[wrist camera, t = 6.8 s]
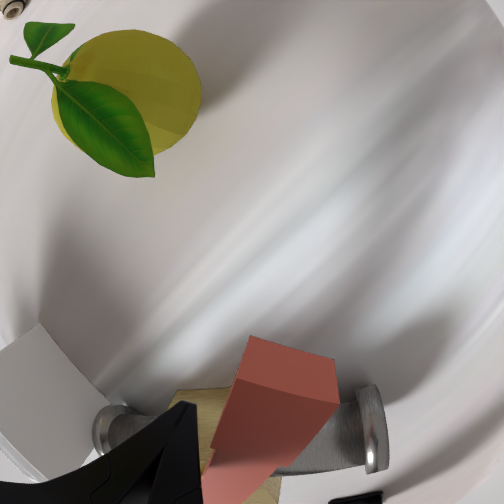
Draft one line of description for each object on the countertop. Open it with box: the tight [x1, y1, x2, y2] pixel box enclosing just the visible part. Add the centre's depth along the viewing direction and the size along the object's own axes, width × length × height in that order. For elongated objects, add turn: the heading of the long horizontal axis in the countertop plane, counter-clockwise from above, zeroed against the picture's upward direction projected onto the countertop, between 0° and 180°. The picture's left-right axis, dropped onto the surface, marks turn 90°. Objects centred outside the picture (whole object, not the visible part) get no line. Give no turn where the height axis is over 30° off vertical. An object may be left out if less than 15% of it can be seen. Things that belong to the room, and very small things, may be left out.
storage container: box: [0, 323, 113, 483], centre depth 18 cm, size 25×11×11 cm, turn 132°
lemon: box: [9, 22, 201, 178], centre depth 8 cm, size 7×6×10 cm
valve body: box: [92, 384, 389, 504], centre depth 14 cm, size 20×6×7 cm, turn 107°
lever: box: [201, 335, 340, 504], centre depth 8 cm, size 15×4×2 cm, turn 164°
